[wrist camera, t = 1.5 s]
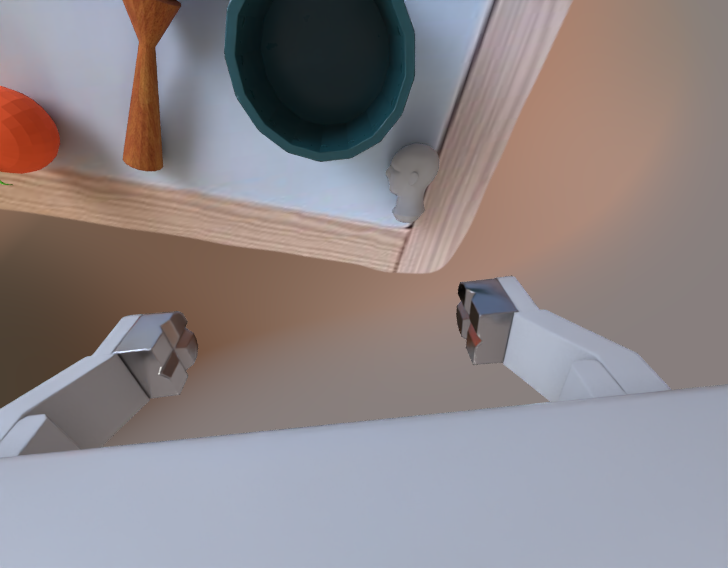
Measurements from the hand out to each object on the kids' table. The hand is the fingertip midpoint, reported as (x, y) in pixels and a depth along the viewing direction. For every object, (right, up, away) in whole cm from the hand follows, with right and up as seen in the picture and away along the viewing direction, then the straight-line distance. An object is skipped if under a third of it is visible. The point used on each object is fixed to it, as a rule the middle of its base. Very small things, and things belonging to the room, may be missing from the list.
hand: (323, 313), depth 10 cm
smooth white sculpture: (+6, +13, +27) cm, 31 cm away
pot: (-2, +21, +20) cm, 29 cm away
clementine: (-30, +16, +22) cm, 40 cm away
